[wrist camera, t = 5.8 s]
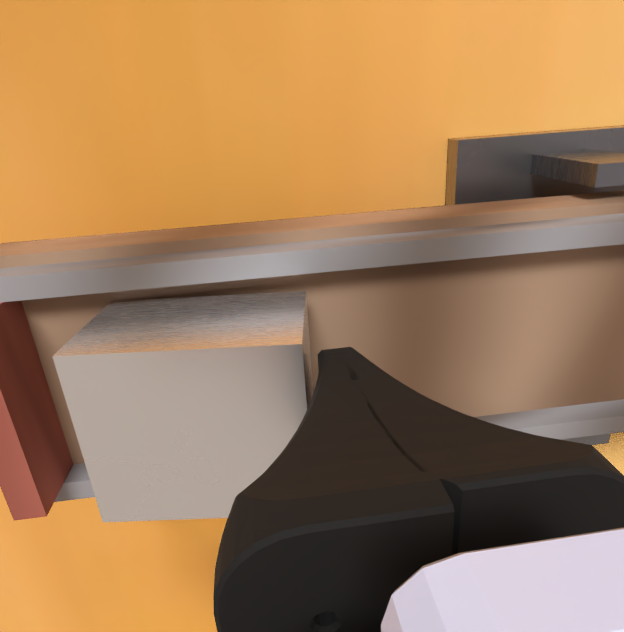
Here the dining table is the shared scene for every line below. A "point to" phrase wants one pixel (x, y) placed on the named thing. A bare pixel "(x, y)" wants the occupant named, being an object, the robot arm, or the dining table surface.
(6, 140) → the dining table surface
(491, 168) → the fulcrum stand
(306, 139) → the dining table surface
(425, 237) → the beam
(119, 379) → the block
